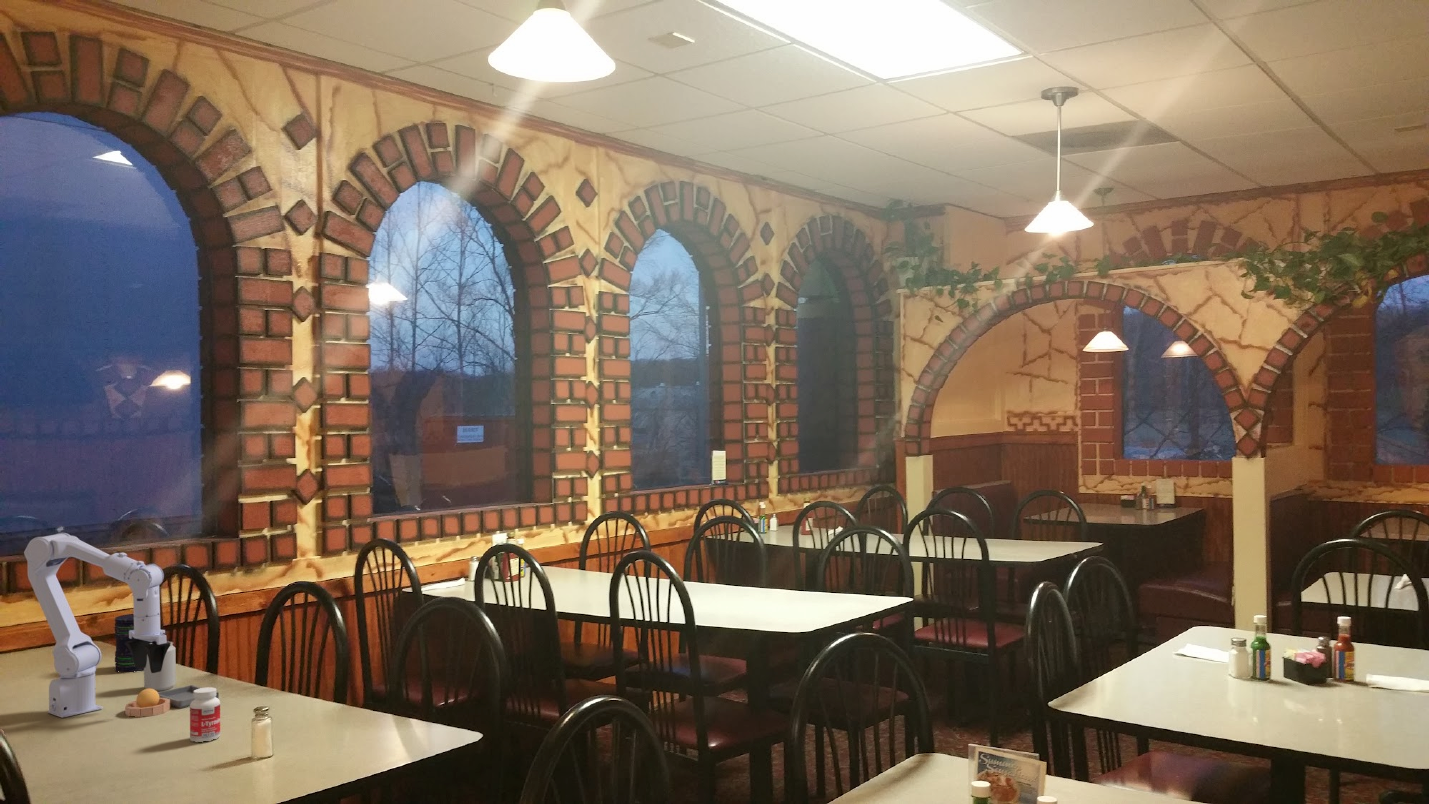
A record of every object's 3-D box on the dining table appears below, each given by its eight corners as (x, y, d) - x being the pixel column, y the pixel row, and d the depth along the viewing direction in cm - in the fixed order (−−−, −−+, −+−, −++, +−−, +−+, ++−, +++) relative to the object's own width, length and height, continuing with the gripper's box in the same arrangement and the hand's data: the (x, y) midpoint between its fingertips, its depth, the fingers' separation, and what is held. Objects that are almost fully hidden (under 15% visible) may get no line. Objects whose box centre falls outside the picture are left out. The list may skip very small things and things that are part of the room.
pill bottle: (201, 744, 237) (201, 694, 237) (184, 740, 240) (183, 691, 240) (226, 737, 242) (226, 688, 242) (209, 733, 245) (208, 684, 245)
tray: (179, 708, 265) (179, 701, 265) (153, 700, 273) (153, 693, 273) (218, 699, 273) (218, 692, 273) (191, 691, 281) (191, 685, 281)
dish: (137, 719, 257) (137, 710, 257) (118, 712, 262) (118, 704, 262) (177, 709, 264) (177, 701, 264) (157, 703, 270) (157, 695, 270)
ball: (142, 713, 260) (142, 692, 260) (132, 710, 263) (132, 689, 263) (163, 708, 264) (163, 688, 264) (153, 705, 267) (153, 685, 267)
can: (166, 692, 281) (166, 646, 281) (138, 692, 281) (138, 646, 281) (181, 684, 288) (181, 640, 288) (153, 684, 288) (153, 640, 288)
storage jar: (122, 665, 310) (121, 613, 310) (158, 663, 312) (158, 612, 312) (109, 673, 301) (108, 620, 301) (147, 672, 302) (146, 619, 302)
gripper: (178, 614, 263) (179, 670, 263) (148, 609, 271) (150, 663, 271) (149, 620, 257) (150, 676, 257) (119, 614, 265) (121, 669, 265)
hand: (148, 670), depth 264 cm, fingers open, 7 cm apart
